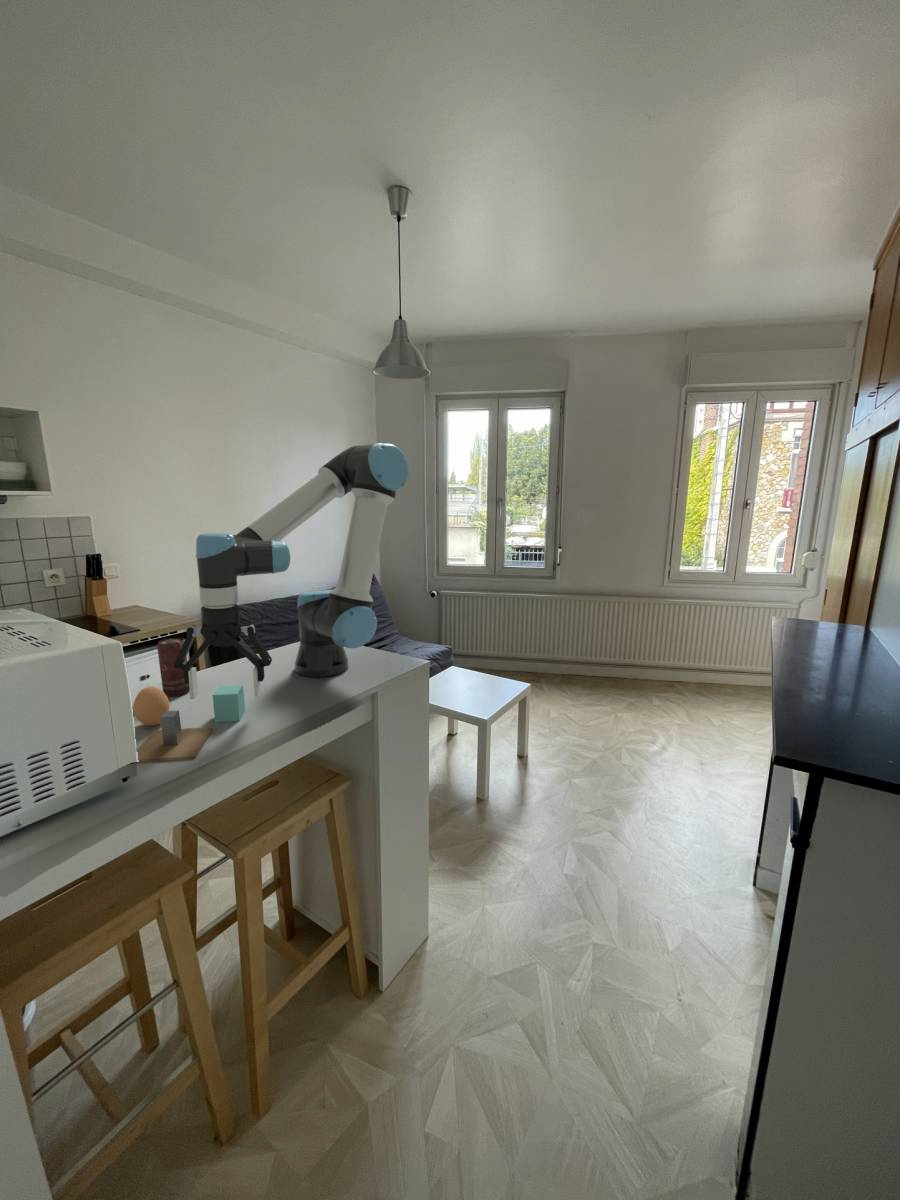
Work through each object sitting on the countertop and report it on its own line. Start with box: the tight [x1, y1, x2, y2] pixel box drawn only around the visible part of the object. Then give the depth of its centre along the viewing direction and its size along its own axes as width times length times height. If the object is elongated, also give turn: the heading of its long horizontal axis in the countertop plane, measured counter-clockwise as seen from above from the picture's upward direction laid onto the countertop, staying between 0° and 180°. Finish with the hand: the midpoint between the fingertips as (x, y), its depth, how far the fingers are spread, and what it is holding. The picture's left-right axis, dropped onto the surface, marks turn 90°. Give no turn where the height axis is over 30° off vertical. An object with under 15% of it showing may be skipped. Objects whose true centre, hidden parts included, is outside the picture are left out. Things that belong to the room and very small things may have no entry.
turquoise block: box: [212, 684, 246, 723], centre depth 113 cm, size 5×5×7 cm
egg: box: [133, 685, 170, 727], centre depth 108 cm, size 7×7×9 cm
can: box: [156, 637, 190, 698], centre depth 124 cm, size 6×6×14 cm
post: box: [160, 710, 182, 746], centre depth 100 cm, size 3×3×6 cm
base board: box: [136, 726, 215, 764], centre depth 100 cm, size 12×12×1 cm
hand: (226, 695), depth 112 cm, fingers open, 13 cm apart
